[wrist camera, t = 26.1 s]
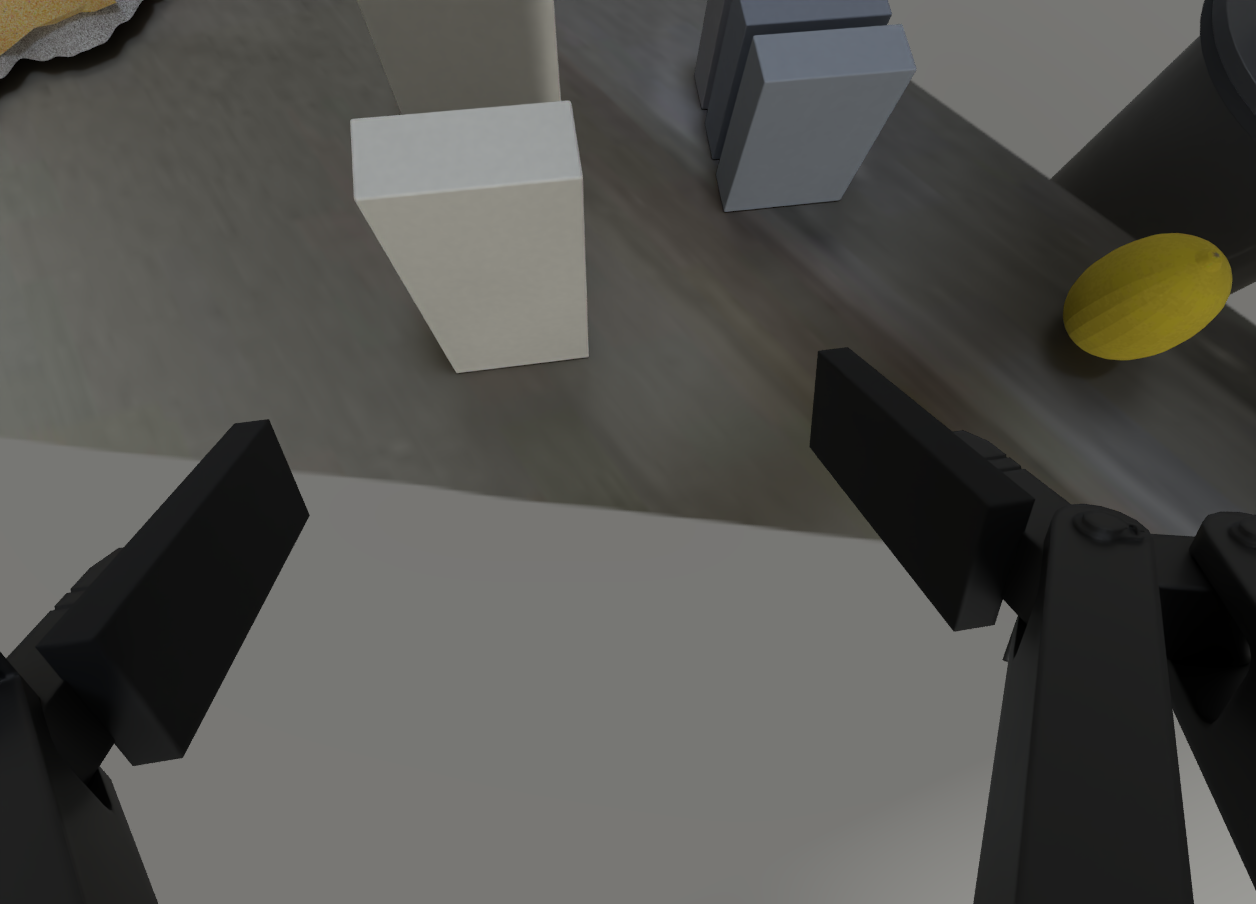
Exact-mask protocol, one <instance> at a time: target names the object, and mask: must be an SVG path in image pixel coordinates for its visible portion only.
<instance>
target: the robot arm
mask: <svg viewBox="0 0 1256 904" xmlns="http://www.w3.org/2000/svg"><path fill="white" fill-rule="evenodd" d="M810 448H811V449H812V451H813V452H814V453H815V455H816V456H817V457H818V458H819V460H820V461H821V462H822V463H823V465H824V466H825V467H826V469H827V470H828V471H829V472H830V474H831V475H832V476H833V478H834V479H835V480H836V481H837V483H838V484H839V485H840V487H841V488H842V489H843V490H844V492H845V493H846V494H847V495H848V497H849V498H850V499H851V501H852V502H853V503H854V504H855V506H856V507H857V508H858V510H859V511H860V512H861V513H862V515H863V516H864V517H865V518H866V520H867V521H868V522H869V524H870V525H871V526H872V527H873V529H874V530H875V531H876V533H877V534H878V535H879V536H880V538H881V539H882V540H883V542H884V543H885V544H886V545H887V547H888V548H889V549H890V550H891V552H892V553H893V554H894V556H895V557H896V558H897V559H898V561H899V562H900V563H901V565H902V566H903V567H904V568H905V570H906V571H907V572H908V573H909V575H910V576H911V577H912V579H913V580H914V581H915V582H916V584H917V585H918V586H919V588H920V589H921V590H922V591H923V593H924V594H925V595H926V597H927V598H928V599H929V600H930V602H931V603H932V604H933V605H934V606H935V608H936V609H937V611H938V612H939V613H940V614H941V616H942V617H943V618H944V619H945V621H946V622H947V623H948V625H949V626H950V627H951V628H952V630H953V631H960V630H966V629H972V628H979V627H985V626H991V625H995V622H996V618H997V616H998V612H999V609H1000V606H1001V603H1002V600H1004V601H1006V603H1007V604H1008V605H1009V606H1010V607H1011V608H1012V609H1013V610H1014V611H1015V612H1016V614H1017V615H1018V617H1017V620H1016V623H1015V625H1014V628H1013V632H1012V634H1011V637H1010V640H1009V643H1008V646H1007V649H1006V651H1005V654H1004V657H1003V660H1004V661H1007V662H1008V668H1007V675H1006V682H1005V688H1004V695H1003V703H1002V709H1001V716H1000V723H999V730H998V737H997V744H996V751H995V758H994V764H993V772H992V778H991V785H990V792H989V799H988V806H987V813H986V820H985V827H984V833H983V840H982V848H981V854H980V861H979V868H978V876H977V882H976V889H975V896H974V903H973V904H1194V900H1193V892H1192V882H1191V874H1190V864H1189V855H1188V846H1187V837H1186V828H1185V819H1184V810H1183V802H1182V793H1181V784H1180V774H1179V765H1178V757H1177V747H1176V738H1175V729H1174V720H1173V711H1174V713H1175V715H1176V717H1177V720H1178V722H1179V724H1180V726H1181V728H1182V730H1183V733H1184V735H1185V737H1186V739H1187V741H1188V743H1189V746H1190V748H1191V750H1192V752H1193V754H1194V756H1195V759H1196V761H1197V763H1198V765H1199V767H1200V770H1201V772H1202V774H1203V776H1204V778H1205V781H1206V783H1207V785H1208V787H1209V789H1210V791H1211V794H1212V796H1213V798H1214V800H1215V802H1216V804H1217V807H1218V809H1219V811H1220V813H1221V815H1222V817H1223V820H1224V822H1225V824H1226V826H1227V829H1228V831H1229V833H1230V835H1231V837H1232V839H1233V842H1234V844H1235V846H1236V848H1237V850H1238V852H1239V855H1240V857H1241V859H1242V861H1243V863H1244V866H1245V868H1246V870H1247V872H1248V874H1249V876H1250V879H1251V881H1252V883H1253V885H1254V887H1255V890H1256V515H1252V514H1247V513H1241V512H1218V513H1214V514H1211V515H1208V516H1207V517H1206V518H1205V520H1204V521H1203V522H1202V524H1201V526H1200V528H1199V530H1198V532H1197V534H1196V536H1195V537H1190V536H1175V535H1160V534H1150V532H1149V530H1148V529H1146V528H1145V527H1144V526H1143V525H1142V524H1140V523H1139V522H1138V521H1137V520H1135V519H1133V518H1131V517H1129V516H1127V515H1125V514H1123V513H1121V512H1118V511H1115V510H1112V509H1109V508H1105V507H1102V506H1096V505H1088V504H1073V505H1071V504H1070V503H1069V502H1067V501H1066V500H1065V499H1063V498H1062V497H1061V496H1059V495H1058V494H1057V493H1056V492H1054V491H1053V490H1052V489H1050V488H1049V487H1048V486H1046V485H1045V484H1044V483H1042V482H1041V481H1040V480H1039V479H1037V478H1036V477H1035V476H1033V475H1032V474H1031V473H1029V472H1028V471H1027V470H1025V469H1021V466H1020V465H1019V464H1018V463H1016V462H1015V461H1014V460H1012V459H1011V458H1007V457H1006V454H1005V453H1003V452H1002V451H1001V450H999V449H998V448H997V447H995V446H994V445H993V444H992V443H990V442H989V441H987V440H985V439H982V438H980V437H978V436H975V435H973V434H971V433H968V432H966V431H964V430H962V431H955V432H952V431H951V430H950V429H948V428H947V427H946V426H945V425H943V424H942V423H941V422H940V421H938V420H937V419H936V418H935V417H933V416H932V415H931V414H930V413H929V412H927V411H926V410H925V409H924V408H922V407H921V406H920V405H919V404H917V403H916V402H915V401H914V400H912V399H911V398H910V397H909V396H908V395H906V394H905V393H904V392H903V391H901V390H900V389H899V388H898V387H896V386H895V385H894V384H893V383H891V382H890V381H889V380H888V379H887V378H885V377H884V376H883V375H882V374H880V373H879V372H878V371H877V370H875V369H874V368H873V367H872V366H870V365H869V364H868V363H867V362H865V361H864V360H863V359H862V358H861V357H859V356H858V355H857V354H856V353H854V352H853V351H852V350H851V349H849V348H848V347H846V348H838V349H830V350H822V351H818V358H817V369H816V380H815V392H814V403H813V414H812V425H811V436H810ZM308 517H309V513H308V510H307V508H306V506H305V503H304V501H303V499H302V496H301V494H300V492H299V489H298V487H297V484H296V482H295V480H294V477H293V475H292V473H291V470H290V468H289V465H288V463H287V461H286V458H285V456H284V454H283V451H282V449H281V447H280V444H279V442H278V440H277V437H276V435H275V432H274V430H273V428H272V425H271V423H270V421H269V419H267V420H259V421H251V422H243V423H235V424H234V425H233V426H232V427H231V428H230V429H229V430H228V431H227V432H226V434H225V435H224V436H223V437H222V438H221V439H220V440H219V441H218V443H217V444H216V445H215V446H214V447H213V448H212V449H211V450H210V452H209V453H208V454H207V455H206V456H205V457H204V458H203V459H202V460H201V462H200V463H199V464H198V465H197V466H196V467H195V468H194V470H193V471H192V472H191V473H190V474H189V475H188V476H187V477H186V478H185V480H184V481H183V482H182V483H181V484H180V485H179V486H178V487H177V489H176V490H175V491H174V492H173V493H172V494H171V495H170V496H169V497H168V499H167V500H166V501H165V502H164V503H163V504H162V505H161V506H160V508H159V509H158V510H157V511H156V512H155V513H154V514H153V515H152V516H151V518H150V519H149V520H148V521H147V522H146V523H145V524H144V526H143V527H142V528H141V529H140V530H139V531H138V532H137V533H136V534H135V536H134V537H133V538H132V539H131V540H130V541H129V542H128V543H127V544H126V546H125V547H123V548H118V549H117V550H115V551H114V552H112V553H111V554H110V555H108V556H106V557H105V558H104V559H103V560H101V561H99V562H98V563H96V564H95V565H94V566H92V567H91V568H89V570H88V571H87V572H86V573H85V574H84V575H83V576H82V577H81V578H80V579H79V581H77V583H76V584H75V585H74V586H73V587H72V588H71V593H66V594H65V595H64V597H63V598H62V599H61V600H60V601H59V602H58V603H57V604H56V605H55V610H53V611H50V612H49V613H48V614H47V615H46V616H45V617H44V618H43V619H42V620H41V621H40V623H39V624H38V625H37V626H36V627H35V628H34V629H33V630H32V631H31V632H30V633H29V634H28V635H27V637H26V638H25V639H24V640H23V641H22V642H21V643H20V644H19V645H18V646H17V647H16V649H15V650H14V651H13V652H12V653H11V654H10V655H9V656H8V657H7V658H5V657H4V656H3V655H2V653H1V652H0V904H158V902H157V899H156V897H155V894H154V892H153V889H152V886H151V883H150V881H149V878H148V876H147V873H146V870H145V868H144V865H143V862H142V860H141V857H140V854H139V852H138V849H137V847H136V844H135V841H134V839H133V836H132V834H131V831H130V828H129V825H128V823H127V820H126V818H125V815H124V812H123V810H122V807H121V805H120V802H119V800H118V797H117V794H116V791H115V789H114V786H113V783H112V781H111V779H110V778H109V776H108V775H107V774H106V773H105V772H104V771H103V770H102V768H101V767H100V765H101V763H102V761H103V760H104V758H105V757H106V755H107V754H108V752H109V750H110V749H111V747H112V746H113V744H115V745H116V746H117V747H118V749H119V750H120V751H121V752H122V753H123V755H124V756H125V757H126V758H127V759H128V761H129V762H130V763H131V764H132V766H136V765H142V764H148V763H155V762H160V761H167V760H173V759H178V758H183V756H184V754H185V753H186V751H187V749H188V747H189V745H190V743H191V741H192V739H193V737H194V735H195V733H196V732H197V729H198V728H199V726H200V724H201V722H202V720H203V718H204V716H205V714H206V712H207V711H208V709H209V707H210V705H211V703H212V701H213V699H214V697H215V695H216V693H217V691H218V689H219V688H220V686H221V684H222V682H223V680H224V678H225V676H226V674H227V672H228V670H229V668H230V666H231V665H232V663H233V661H234V659H235V657H236V655H237V653H238V651H239V649H240V647H241V646H242V644H243V642H244V640H245V638H246V636H247V634H248V632H249V630H250V628H251V626H252V625H253V623H254V621H255V619H256V617H257V615H258V613H259V611H260V609H261V607H262V605H263V603H264V602H265V600H266V598H267V596H268V594H269V592H270V590H271V588H272V586H273V584H274V582H275V581H276V579H277V577H278V575H279V573H280V571H281V569H282V567H283V565H284V563H285V561H286V560H287V557H288V556H289V554H290V552H291V550H292V548H293V546H294V544H295V542H296V540H297V538H298V537H299V535H300V533H301V531H302V529H303V527H304V525H305V523H306V521H307V519H308ZM1172 709H1173V711H1172Z"/></svg>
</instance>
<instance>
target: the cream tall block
mask: <svg viewBox="0 0 1256 904" xmlns="http://www.w3.org/2000/svg"><path fill="white" fill-rule="evenodd" d="M350 127H351V147H352V168H353V188H354V200H355V202H356V204H357V205H358V207H359V209H360V210H361V212H362V214H363V215H364V217H365V219H366V221H367V222H368V224H369V226H370V227H371V229H372V231H373V232H374V234H375V236H376V238H377V239H378V241H379V243H380V244H381V246H382V248H383V249H384V251H385V253H386V255H387V256H388V258H389V260H390V261H391V263H392V265H393V266H394V268H395V270H396V272H397V273H398V275H399V277H400V278H401V280H402V282H403V283H404V285H405V287H406V288H407V290H408V292H409V294H410V295H411V297H412V299H413V300H414V302H415V304H416V305H417V307H418V309H419V311H420V312H421V314H422V316H423V317H424V319H425V321H426V322H427V324H428V326H429V328H430V329H431V331H432V333H433V334H434V336H435V338H436V339H437V341H438V343H439V345H440V346H441V348H442V350H443V351H444V353H445V355H446V356H447V358H448V360H449V362H450V363H451V365H452V367H453V368H454V370H455V372H456V373H462V372H471V371H479V370H487V369H495V368H503V367H512V366H520V365H528V364H536V363H544V362H552V361H561V360H569V359H577V358H585V357H589V344H588V314H587V283H586V253H585V223H584V193H583V174H582V168H581V161H580V155H579V149H578V142H577V136H576V129H575V123H574V117H573V110H572V104H571V102H570V101H556V102H545V103H533V104H521V105H510V106H498V107H487V108H475V109H464V110H452V111H440V112H429V113H417V114H406V115H394V116H383V117H371V118H359V119H352V120H351V121H350Z"/></svg>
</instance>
